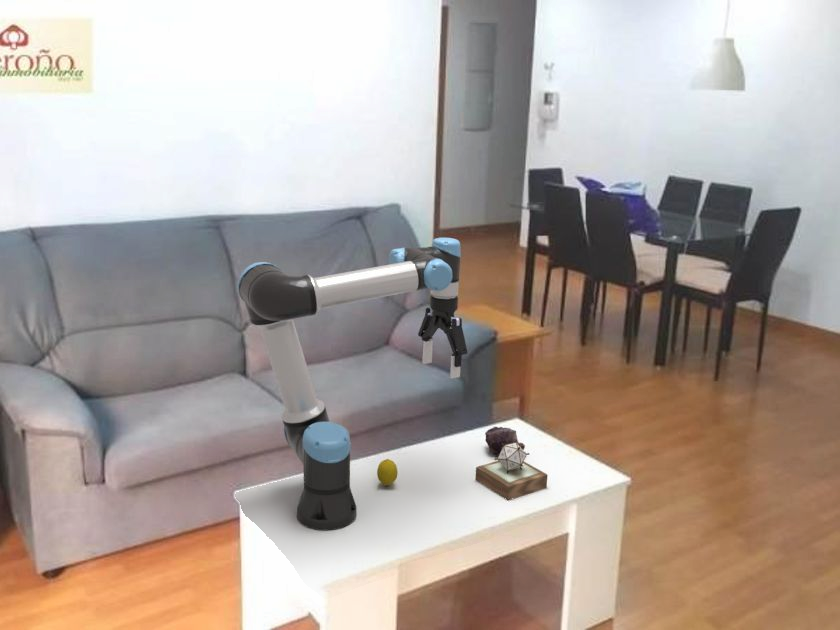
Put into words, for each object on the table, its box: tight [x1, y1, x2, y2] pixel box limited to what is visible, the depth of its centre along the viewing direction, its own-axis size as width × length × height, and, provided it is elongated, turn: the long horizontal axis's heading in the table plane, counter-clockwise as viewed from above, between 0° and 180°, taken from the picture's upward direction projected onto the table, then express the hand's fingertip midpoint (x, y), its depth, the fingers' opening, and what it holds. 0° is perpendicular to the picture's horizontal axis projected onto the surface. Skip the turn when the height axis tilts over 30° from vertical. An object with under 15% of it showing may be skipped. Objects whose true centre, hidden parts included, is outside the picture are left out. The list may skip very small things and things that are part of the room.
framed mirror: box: [475, 460, 548, 501], centre depth 240 cm, size 14×14×4 cm
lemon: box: [376, 458, 398, 487], centre depth 236 cm, size 6×6×8 cm
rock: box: [484, 426, 526, 457], centre depth 258 cm, size 12×9×10 cm
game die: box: [493, 440, 530, 474], centre depth 238 cm, size 9×8×10 cm
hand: (440, 370), depth 238 cm, fingers open, 13 cm apart
